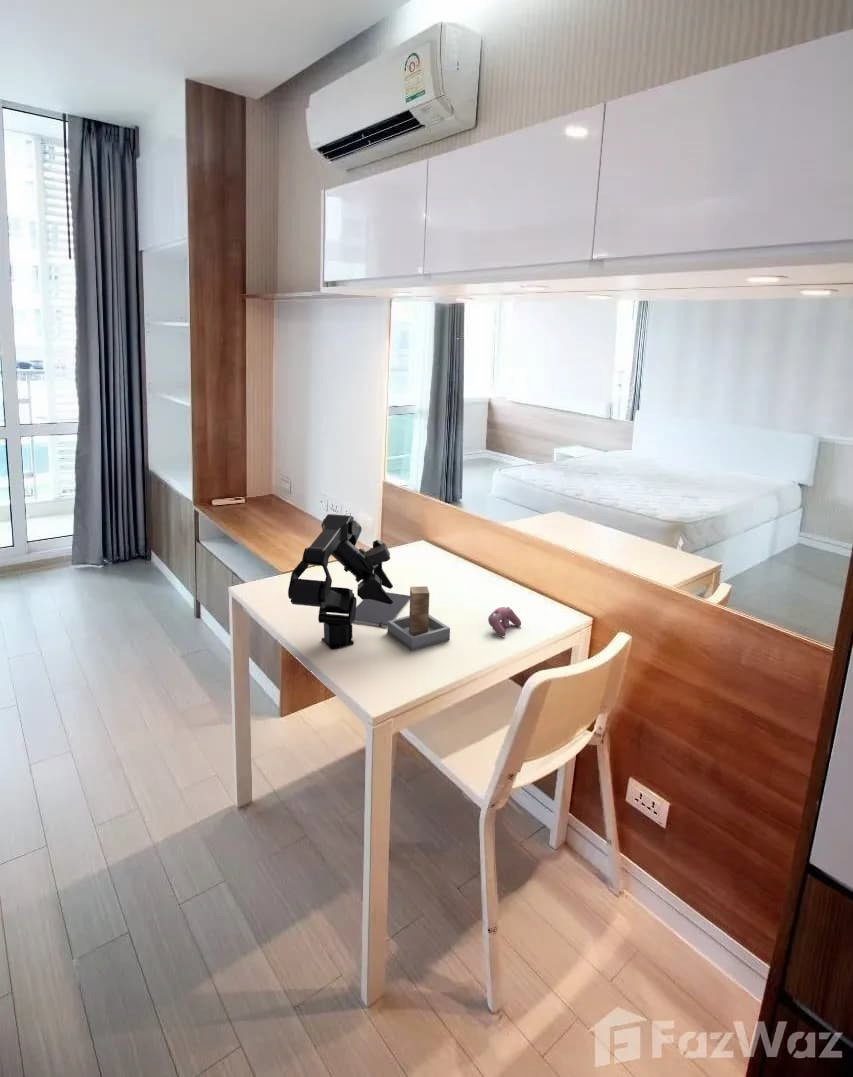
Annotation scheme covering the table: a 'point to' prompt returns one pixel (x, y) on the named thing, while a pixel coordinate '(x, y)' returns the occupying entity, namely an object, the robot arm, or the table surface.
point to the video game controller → (503, 619)
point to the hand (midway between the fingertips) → (391, 595)
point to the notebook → (380, 610)
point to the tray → (433, 636)
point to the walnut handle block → (419, 610)
